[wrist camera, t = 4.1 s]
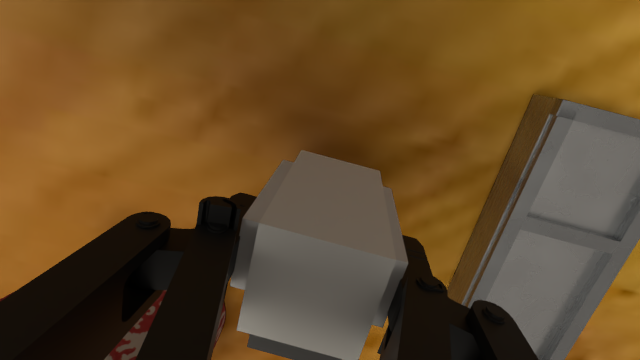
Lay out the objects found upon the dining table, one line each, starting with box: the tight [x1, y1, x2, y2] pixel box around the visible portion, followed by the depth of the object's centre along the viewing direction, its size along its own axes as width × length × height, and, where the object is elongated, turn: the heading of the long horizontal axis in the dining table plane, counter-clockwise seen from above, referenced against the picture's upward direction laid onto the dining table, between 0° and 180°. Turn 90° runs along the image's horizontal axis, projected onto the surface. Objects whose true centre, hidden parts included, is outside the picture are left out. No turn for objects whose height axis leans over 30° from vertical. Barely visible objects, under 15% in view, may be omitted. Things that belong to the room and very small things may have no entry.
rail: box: [447, 94, 640, 360], centre depth 19 cm, size 24×7×10 cm, turn 166°
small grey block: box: [237, 150, 396, 360], centre depth 15 cm, size 5×4×8 cm
